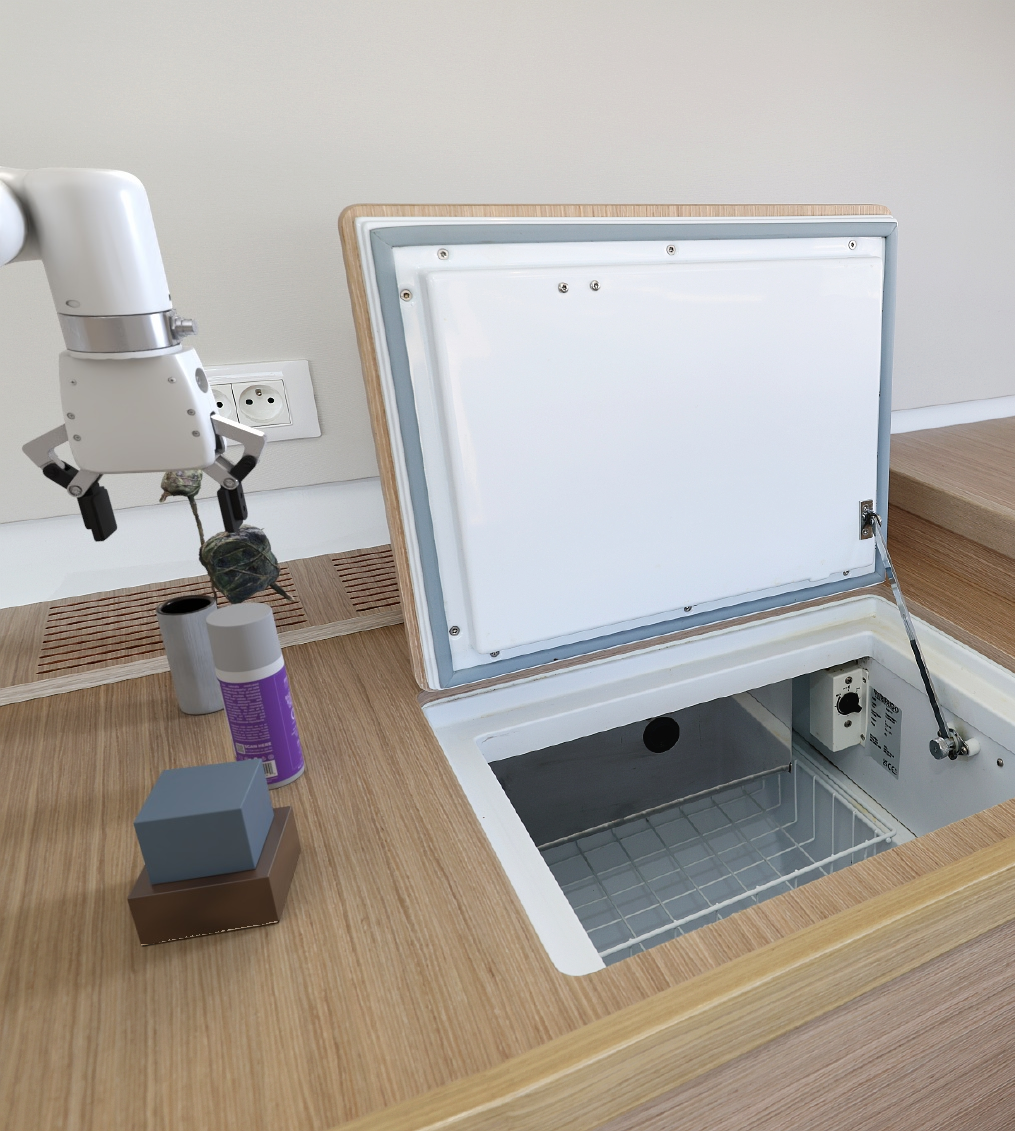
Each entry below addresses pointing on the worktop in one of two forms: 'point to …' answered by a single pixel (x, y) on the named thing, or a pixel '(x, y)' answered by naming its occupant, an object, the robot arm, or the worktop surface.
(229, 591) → the plant with pod
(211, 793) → the top block
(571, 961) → the worktop surface
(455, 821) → the worktop surface
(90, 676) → the worktop surface
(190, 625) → the planter
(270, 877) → the base block
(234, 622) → the container
